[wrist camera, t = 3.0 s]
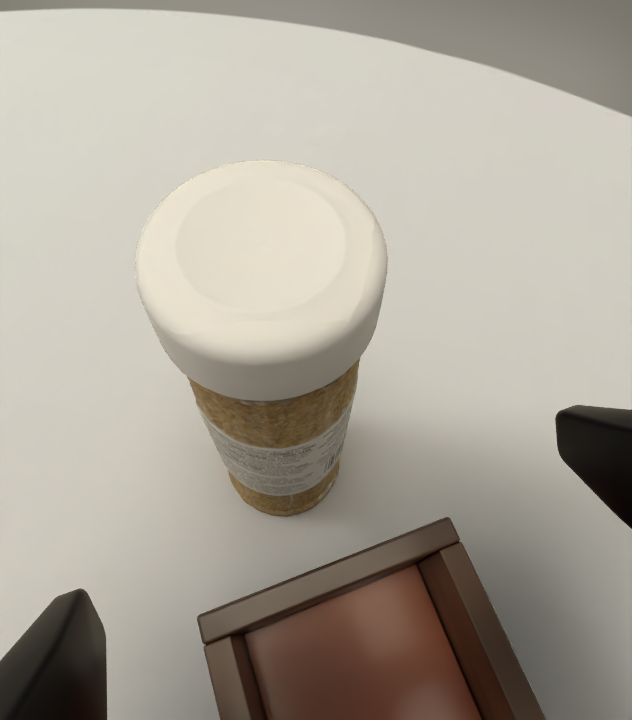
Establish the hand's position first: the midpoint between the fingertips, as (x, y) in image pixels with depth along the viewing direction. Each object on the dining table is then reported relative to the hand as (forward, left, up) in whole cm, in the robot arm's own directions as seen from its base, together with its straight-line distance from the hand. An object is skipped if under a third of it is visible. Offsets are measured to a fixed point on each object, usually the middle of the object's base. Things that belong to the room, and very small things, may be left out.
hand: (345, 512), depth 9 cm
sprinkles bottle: (+4, -2, -11) cm, 12 cm away
